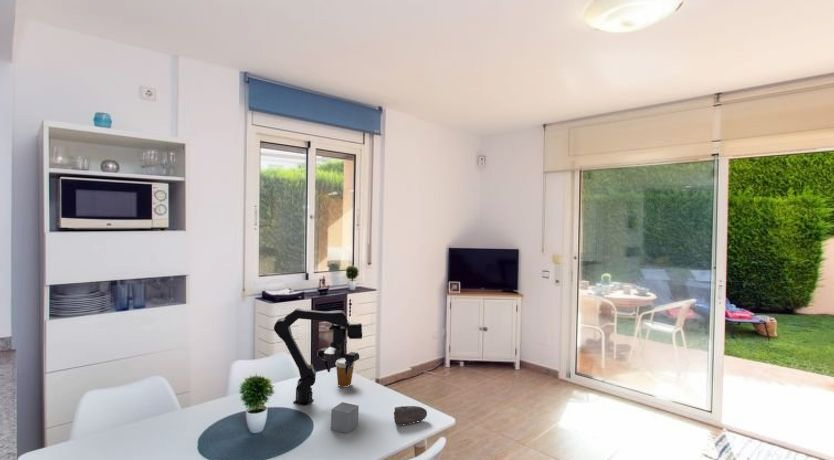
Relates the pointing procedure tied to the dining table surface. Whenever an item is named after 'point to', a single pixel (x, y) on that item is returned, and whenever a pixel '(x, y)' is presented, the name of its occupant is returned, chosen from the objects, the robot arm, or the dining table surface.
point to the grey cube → (344, 417)
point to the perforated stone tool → (409, 414)
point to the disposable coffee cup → (343, 372)
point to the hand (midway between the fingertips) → (337, 373)
